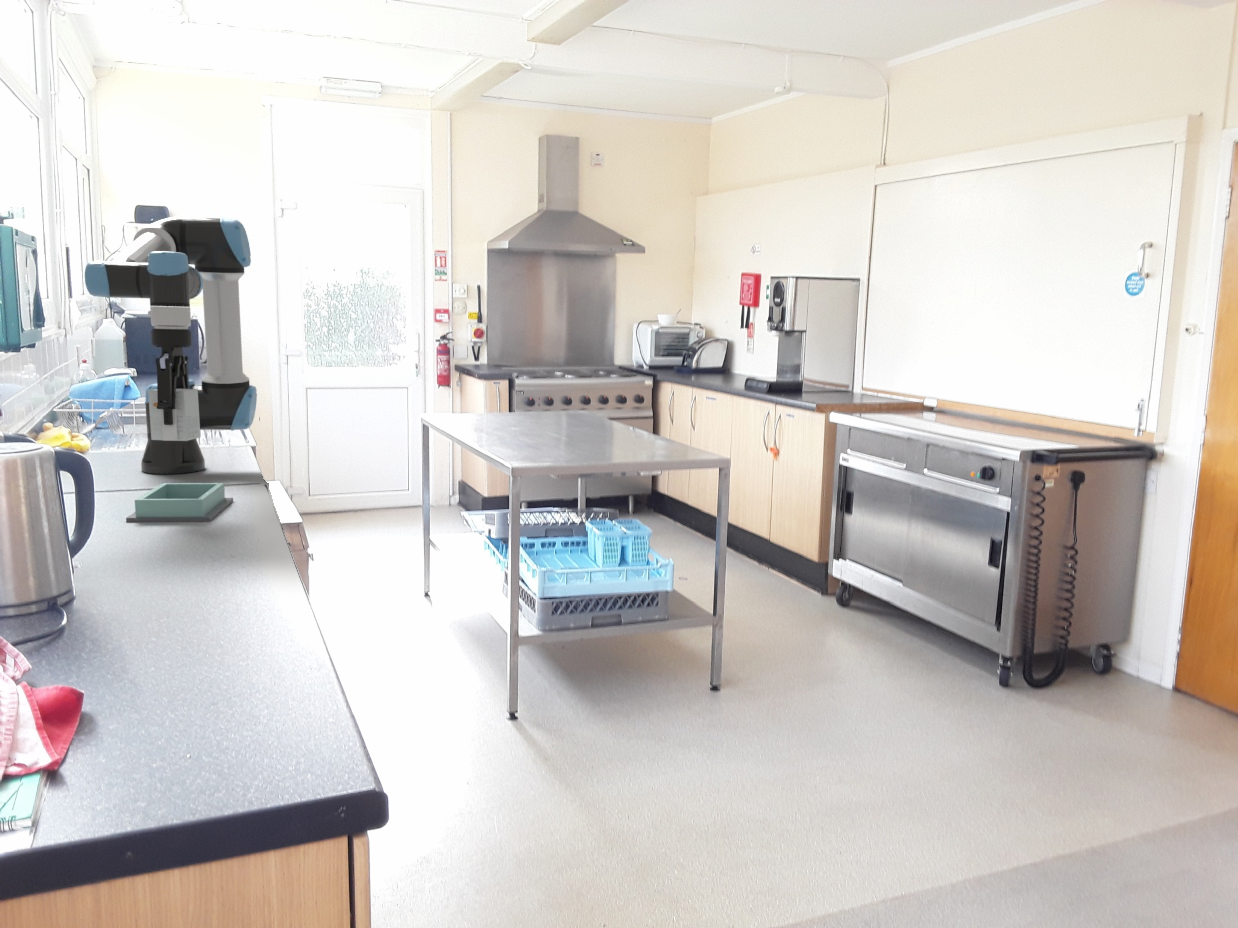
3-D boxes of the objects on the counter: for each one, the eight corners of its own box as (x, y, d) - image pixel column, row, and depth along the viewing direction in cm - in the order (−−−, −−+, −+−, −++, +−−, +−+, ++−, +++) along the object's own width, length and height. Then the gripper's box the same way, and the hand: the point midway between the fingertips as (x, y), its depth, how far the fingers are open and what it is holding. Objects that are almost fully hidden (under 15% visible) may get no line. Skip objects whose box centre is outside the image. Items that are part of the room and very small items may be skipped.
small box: (201, 438, 202) (199, 389, 200) (186, 441, 196) (184, 391, 195) (165, 436, 202) (163, 387, 201) (150, 440, 197) (147, 389, 195)
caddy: (157, 501, 210) (156, 482, 209) (233, 501, 212) (232, 482, 212) (126, 521, 190) (125, 500, 190) (210, 521, 193) (209, 500, 192)
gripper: (166, 326, 205) (171, 432, 208) (135, 328, 186) (141, 444, 189) (203, 327, 206) (207, 432, 209) (175, 329, 187) (180, 444, 190)
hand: (175, 438), depth 199 cm, fingers closed on small box, 6 cm apart
